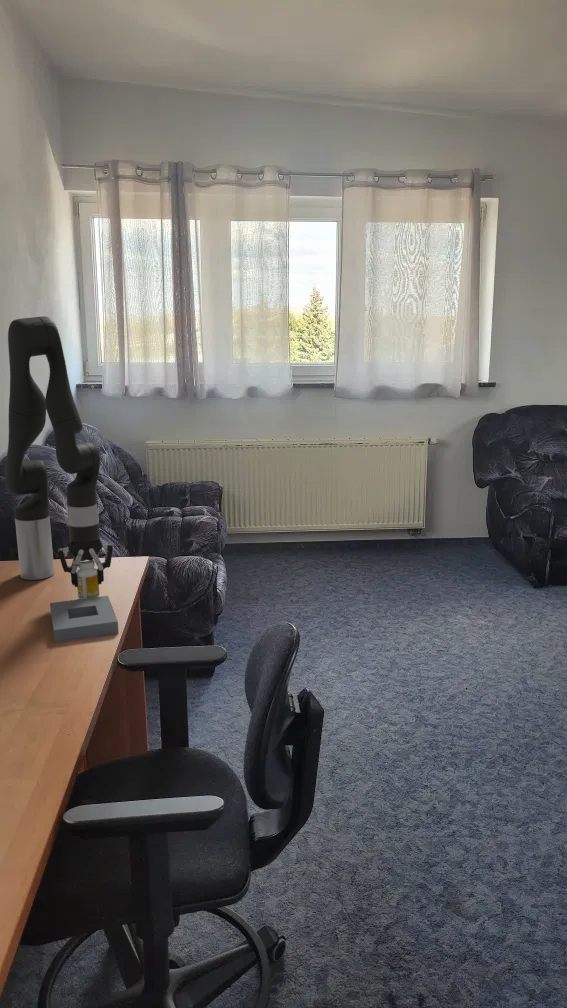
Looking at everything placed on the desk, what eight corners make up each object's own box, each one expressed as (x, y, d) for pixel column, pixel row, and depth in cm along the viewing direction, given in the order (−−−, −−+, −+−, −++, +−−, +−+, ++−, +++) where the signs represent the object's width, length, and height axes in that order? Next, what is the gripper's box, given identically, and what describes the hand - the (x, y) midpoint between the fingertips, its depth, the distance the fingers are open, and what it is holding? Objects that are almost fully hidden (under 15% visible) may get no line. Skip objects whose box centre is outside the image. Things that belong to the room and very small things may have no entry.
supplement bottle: (102, 593, 190) (100, 558, 188) (95, 601, 185) (92, 565, 183) (82, 593, 191) (80, 558, 188) (75, 600, 185) (72, 564, 183)
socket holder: (50, 614, 178) (49, 602, 177) (108, 606, 182) (108, 595, 182) (55, 642, 161) (53, 630, 160) (118, 633, 166) (117, 621, 165)
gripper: (55, 528, 177) (60, 593, 181) (114, 522, 182) (118, 585, 186) (53, 520, 184) (58, 583, 188) (110, 515, 189) (114, 576, 193)
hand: (88, 584), depth 187 cm, fingers closed on supplement bottle, 5 cm apart
